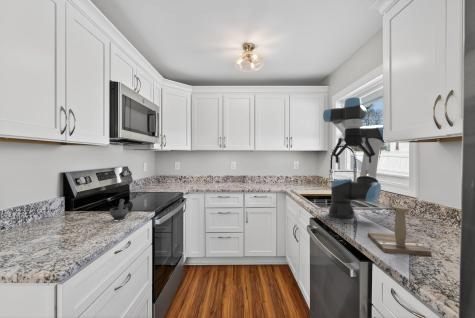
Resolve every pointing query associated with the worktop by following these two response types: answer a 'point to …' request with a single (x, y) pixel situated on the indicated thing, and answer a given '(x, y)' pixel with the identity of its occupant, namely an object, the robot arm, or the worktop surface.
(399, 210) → the handle
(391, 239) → the board
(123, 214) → the mortar and pestle
